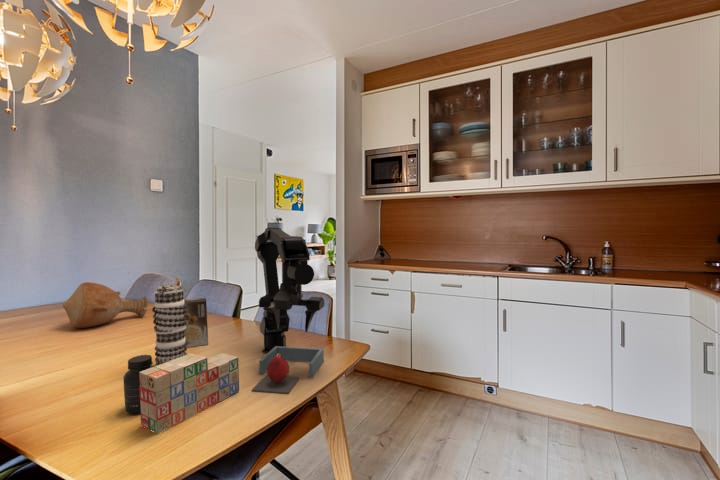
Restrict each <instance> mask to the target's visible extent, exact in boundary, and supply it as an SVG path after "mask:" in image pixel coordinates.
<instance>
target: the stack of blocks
mask: <svg viewBox="0 0 720 480" xmlns="http://www.w3.org/2000/svg"><path fill="white" fill-rule="evenodd" d="M139 376H140V386H139V392H140V405H141V414H140V423H141V424H140V425H142V426H143V427H142V426H141V427H142V428H144V427H145V428H144V429H146V428H147V429H146V430H148V429H149V430H148V431H150V430H152V431H154V432H155V433H157V434H156V435H159V434H158V433H160V432H162V431H163V432H165V431H167V430H169V429H172V428H173V426H174V427H175V426H177V425H179V424H181V423H183V422H185V421H186V420H189V419H190V418H193V417H194V416H196V415H198V414H200V413H201V412H203V411H206V410H208V408H211V407H213V406H215V405H216V404H218V403H221V401H224V400H226V399H228V398H230V397H231V396H234V395H236V394H237V393H240V370H239V357H238V356H234V355H231V354H227V353H223V352H221V353H219V354H217V355H214V356H211V357H209V358H208V357H207V356H203V355H198V354H195V353H187V355H185V356H182V357H180V358H176V359H174V360H171V361H169V362H166V363H163V364H161V365H158V366H154V367H152V368H149V369H146V370H143V371H141V372H139ZM168 428H169V429H168ZM166 429H167V430H166ZM164 430H165V431H164ZM152 431H151V432H152ZM154 432H153V433H154ZM163 432H162V433H163ZM155 433H154V434H155ZM160 434H161V433H160Z"/></svg>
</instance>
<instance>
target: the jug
mask: <svg viewBox="0 0 720 480" xmlns="http://www.w3.org/2000/svg"><path fill="white" fill-rule="evenodd" d="M120 295H121V292H120V291H119V290H118V291H115V290H114V289H112V288H110V287H108V286H106V285H104V284H100V283H96V282H89V281H88V282H83V283H80V285H78V286H77V288H76V289H75V290H74V291H73V293H72V295H70V296H69V298H68V299H67V300H66V301H64V302H63V304H62V308H63V309H64V310H65V311H66V315H67V317H68V319H69V323H70V325H71V326H72V327H73V328H76V329H82V328H84V329H85V328H93V327H97V326H101V325H104V324H107V323H109V322H110V321H113V320H114V319H115V318H116V317H117V316H118V315H119V314H121V313H134V314H135V315H137V316H138V317H139V318H143V317H144V316H145V315H146V313H147V312H148V305H149V304H148V298H147V297H146V296H142V297H141V298H140V299H139V300H135V301H125V300H124V301H123V300H122V298H121V297H120Z"/></svg>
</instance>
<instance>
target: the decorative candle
mask: <svg viewBox="0 0 720 480" xmlns="http://www.w3.org/2000/svg"><path fill="white" fill-rule="evenodd" d="M184 291H185V289H184V288H182V286H181V285H179V284H165V285H160V286H158V288H157V289H156V290H155V291H154V292H153V293H154V298H155V300H154V306H153V307H152V308H151V309H152V310H151V311H152V312H153V313H154V314H152V318H153V320H152V321H153V322H152V324H154V325H155V326H153V330H154V331H153V332H154V333H155V334H156V338H155V339H156V340H155V347H154V350H155V352H154V355H155V358H154V361H155V364H154V365H155V366H158V365H161V364H163V363H166V362H169V361H171V360H174V359H176V358H180V357H182V356H185V355H188V353H187V350H188V347H187V348H186V347H185V346H186V345H187V343H186V342H185V336H184V333H185V331H184V329H186V326H185V325H186V324H187V323H186V322H184V321H185V320H186V319H187V318H186V317H184V314H186V313H187V311H185V310H184V309H185V308H187V306H185V305H184V300H185V299H184ZM155 366H154V367H155Z"/></svg>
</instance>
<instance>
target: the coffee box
mask: <svg viewBox="0 0 720 480" xmlns="http://www.w3.org/2000/svg"><path fill="white" fill-rule="evenodd" d="M184 305H185V306H187V308H185V309H184V310H185V311H187V313H186V314H184V317H186V318H187V319H186V320H185V321H184V322H186V323H187V324H186V325H185V326H186V329H184V331H185V333H184V336H185V342H186V343H187V345H186V346H185V347H186V348H187V349H188V348H192V347H201V346H207V345H209V330H208V328H209V327H208V309H207V308H208V306H207V298H206V297H202V298H190V299H189V298H188V299H184Z"/></svg>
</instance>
